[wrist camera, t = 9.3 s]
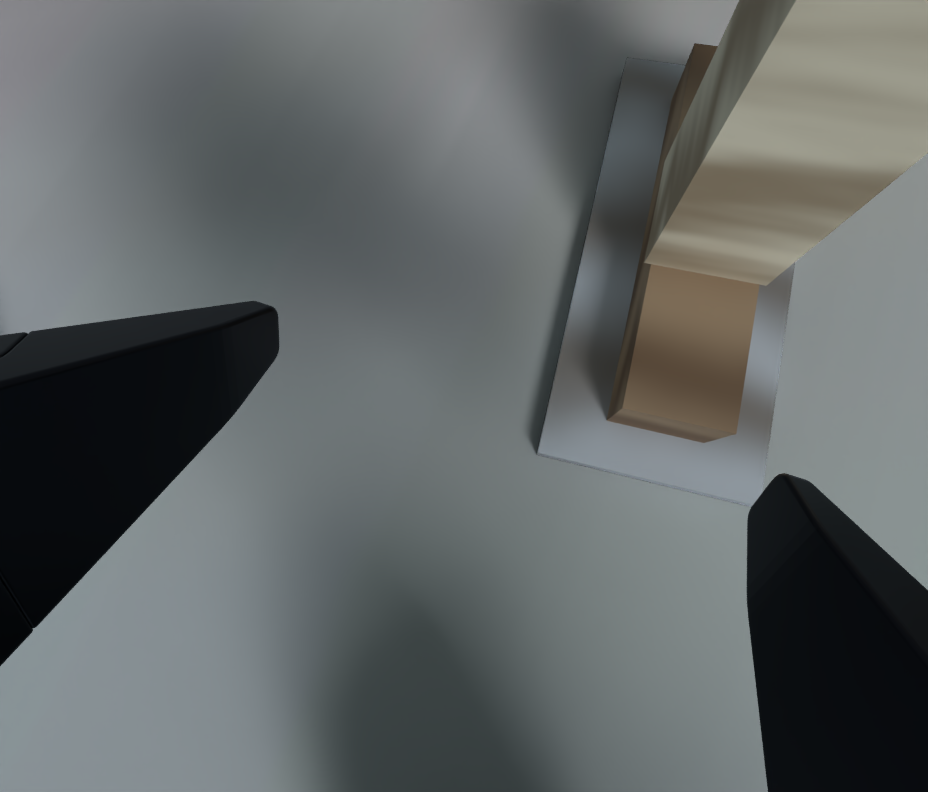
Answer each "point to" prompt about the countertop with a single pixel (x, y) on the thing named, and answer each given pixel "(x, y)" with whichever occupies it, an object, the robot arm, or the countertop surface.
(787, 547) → the robot arm
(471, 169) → the countertop surface
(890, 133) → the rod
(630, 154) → the flat rectangular plate
